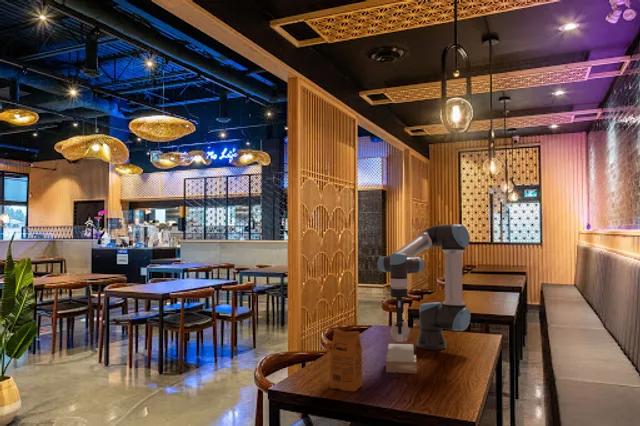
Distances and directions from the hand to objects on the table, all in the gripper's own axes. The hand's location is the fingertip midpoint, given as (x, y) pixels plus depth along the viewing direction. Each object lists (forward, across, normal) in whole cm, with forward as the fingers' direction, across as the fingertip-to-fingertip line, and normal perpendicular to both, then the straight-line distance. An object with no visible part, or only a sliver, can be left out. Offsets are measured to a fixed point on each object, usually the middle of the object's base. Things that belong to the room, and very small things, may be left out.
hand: (400, 338), depth 198 cm
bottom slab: (+14, -1, 0) cm, 14 cm away
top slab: (+9, -1, 0) cm, 9 cm away
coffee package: (+13, +28, -21) cm, 37 cm away
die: (+1, 0, 0) cm, 1 cm away
